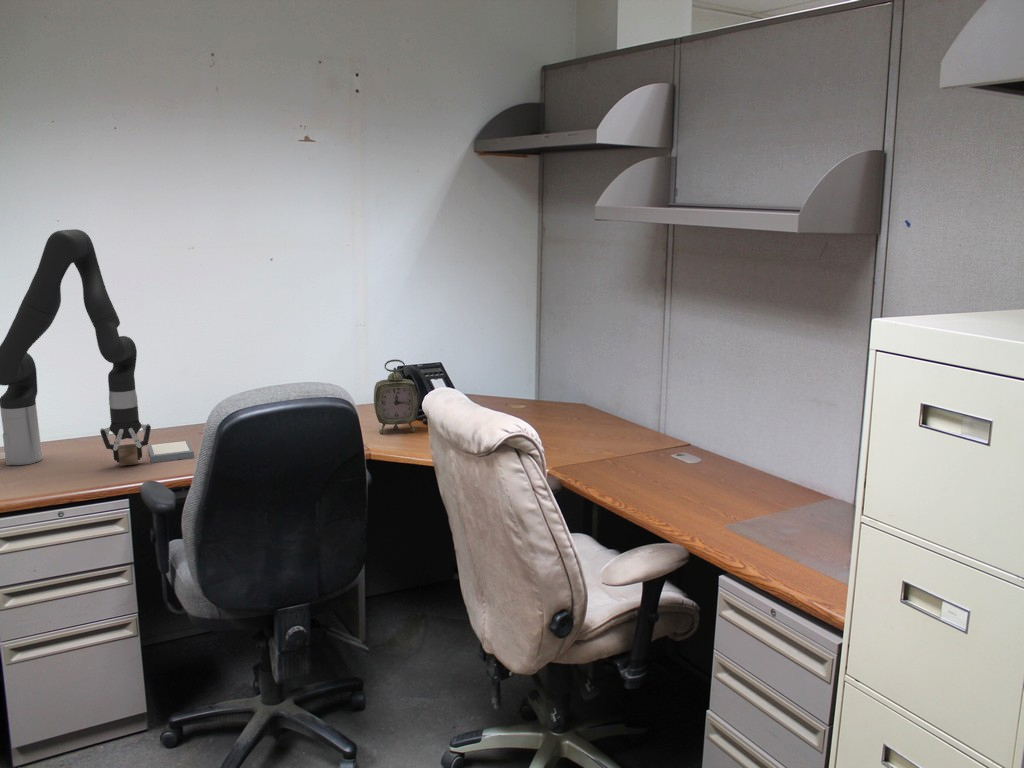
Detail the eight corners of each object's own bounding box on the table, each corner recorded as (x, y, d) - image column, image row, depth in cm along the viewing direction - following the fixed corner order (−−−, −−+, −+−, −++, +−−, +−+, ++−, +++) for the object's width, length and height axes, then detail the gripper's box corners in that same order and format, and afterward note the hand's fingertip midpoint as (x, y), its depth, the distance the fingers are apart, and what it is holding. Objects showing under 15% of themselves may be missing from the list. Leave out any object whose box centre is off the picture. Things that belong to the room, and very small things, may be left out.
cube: (119, 466, 246) (118, 449, 245) (119, 461, 251) (117, 445, 250) (138, 463, 249) (136, 447, 248) (137, 459, 253) (135, 443, 252)
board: (151, 463, 251) (150, 455, 251) (148, 451, 264) (147, 444, 263) (194, 457, 257) (193, 450, 256) (188, 446, 269) (188, 440, 269)
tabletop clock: (376, 435, 283) (373, 362, 278) (374, 429, 291) (371, 358, 286) (419, 433, 286) (417, 360, 281) (415, 426, 294) (414, 356, 289)
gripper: (96, 409, 240) (102, 467, 243) (151, 405, 246) (155, 461, 249) (96, 404, 246) (101, 460, 250) (149, 400, 253) (153, 454, 256)
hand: (128, 460), depth 250 cm, fingers closed on cube, 5 cm apart
